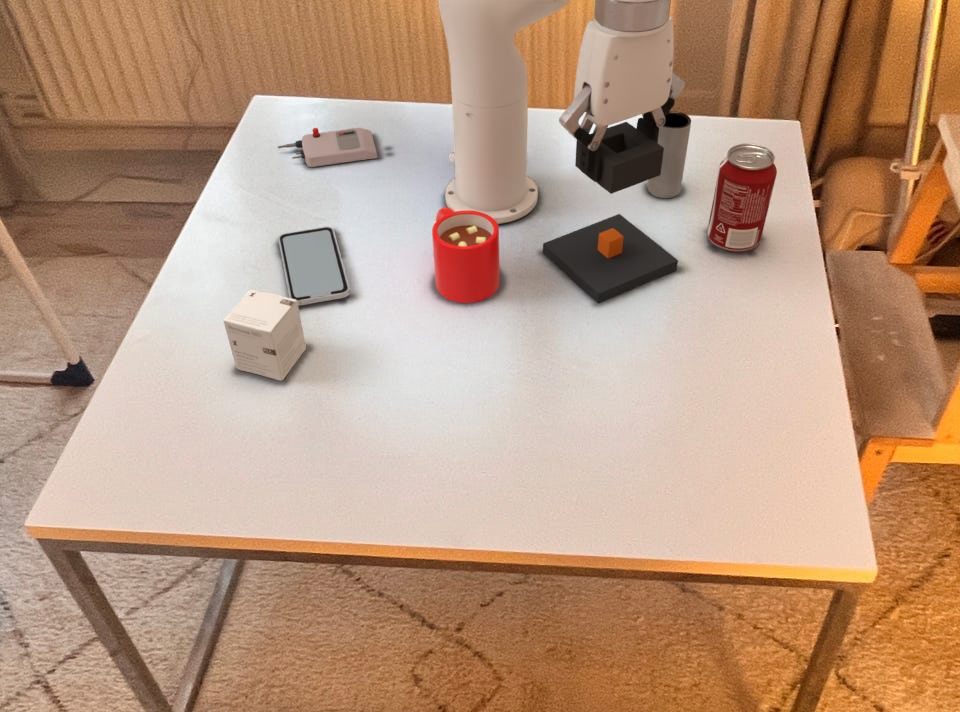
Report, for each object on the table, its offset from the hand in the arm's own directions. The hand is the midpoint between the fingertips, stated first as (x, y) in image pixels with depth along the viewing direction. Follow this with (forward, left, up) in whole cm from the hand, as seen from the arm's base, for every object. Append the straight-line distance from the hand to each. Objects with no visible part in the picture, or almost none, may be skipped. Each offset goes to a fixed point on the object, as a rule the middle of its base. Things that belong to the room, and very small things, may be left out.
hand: (617, 164), depth 106 cm
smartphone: (-19, -32, -14) cm, 40 cm away
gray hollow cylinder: (-9, +16, -14) cm, 23 cm away
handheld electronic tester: (-43, -18, -14) cm, 49 cm away
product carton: (-6, -43, -14) cm, 45 cm away
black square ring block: (0, 0, -1) cm, 1 cm away
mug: (-8, -17, -14) cm, 23 cm away
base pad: (0, 0, -14) cm, 14 cm away
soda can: (+5, +16, -14) cm, 22 cm away
